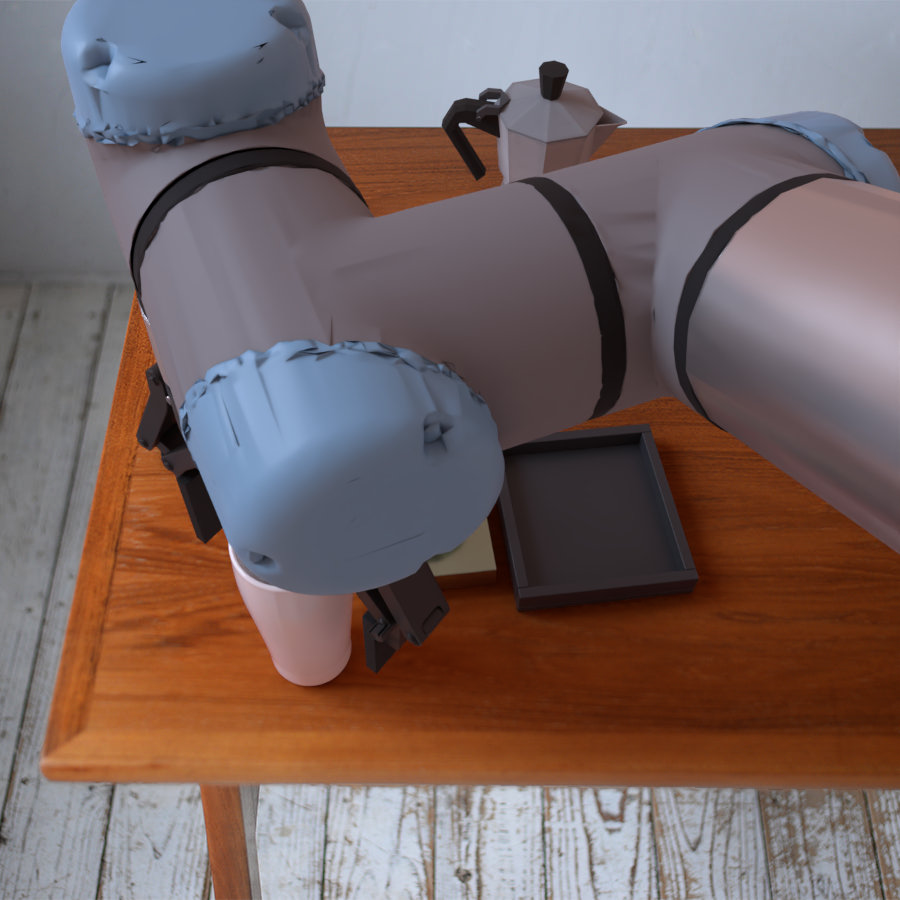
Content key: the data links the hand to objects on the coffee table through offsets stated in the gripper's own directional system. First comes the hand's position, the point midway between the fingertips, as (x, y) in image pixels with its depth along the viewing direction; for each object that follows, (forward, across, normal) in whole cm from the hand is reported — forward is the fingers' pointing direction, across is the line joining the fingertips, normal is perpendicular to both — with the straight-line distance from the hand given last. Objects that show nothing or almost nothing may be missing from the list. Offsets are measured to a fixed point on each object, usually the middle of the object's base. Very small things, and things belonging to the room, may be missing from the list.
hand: (298, 587), depth 58 cm
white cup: (+9, 0, 0) cm, 9 cm away
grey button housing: (+9, 0, -12) cm, 15 cm away
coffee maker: (+9, +12, -42) cm, 44 cm away
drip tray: (+9, -9, -20) cm, 24 cm away
